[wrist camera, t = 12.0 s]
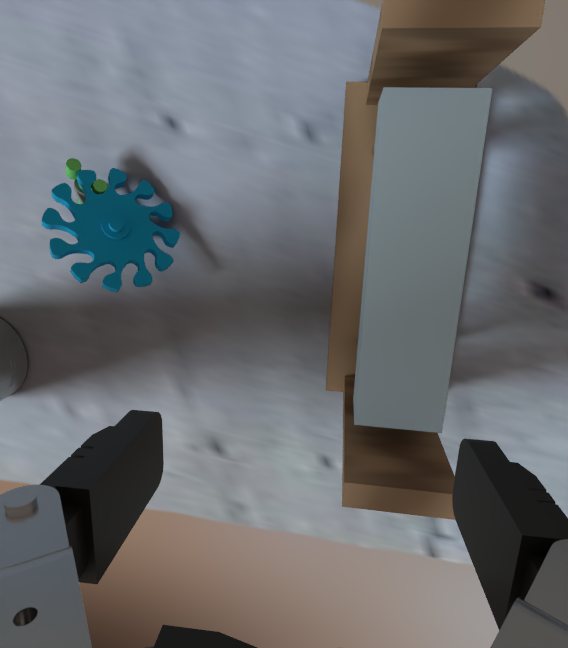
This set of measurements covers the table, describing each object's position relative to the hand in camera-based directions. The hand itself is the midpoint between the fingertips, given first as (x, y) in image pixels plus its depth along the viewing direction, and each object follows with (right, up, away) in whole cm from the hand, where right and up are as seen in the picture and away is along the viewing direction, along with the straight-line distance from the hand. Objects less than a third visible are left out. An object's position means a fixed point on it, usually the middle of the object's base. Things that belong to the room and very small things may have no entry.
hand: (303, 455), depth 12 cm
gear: (-14, +12, +27) cm, 32 cm away
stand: (+8, +9, +24) cm, 27 cm away
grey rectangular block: (+7, +7, +15) cm, 18 cm away
